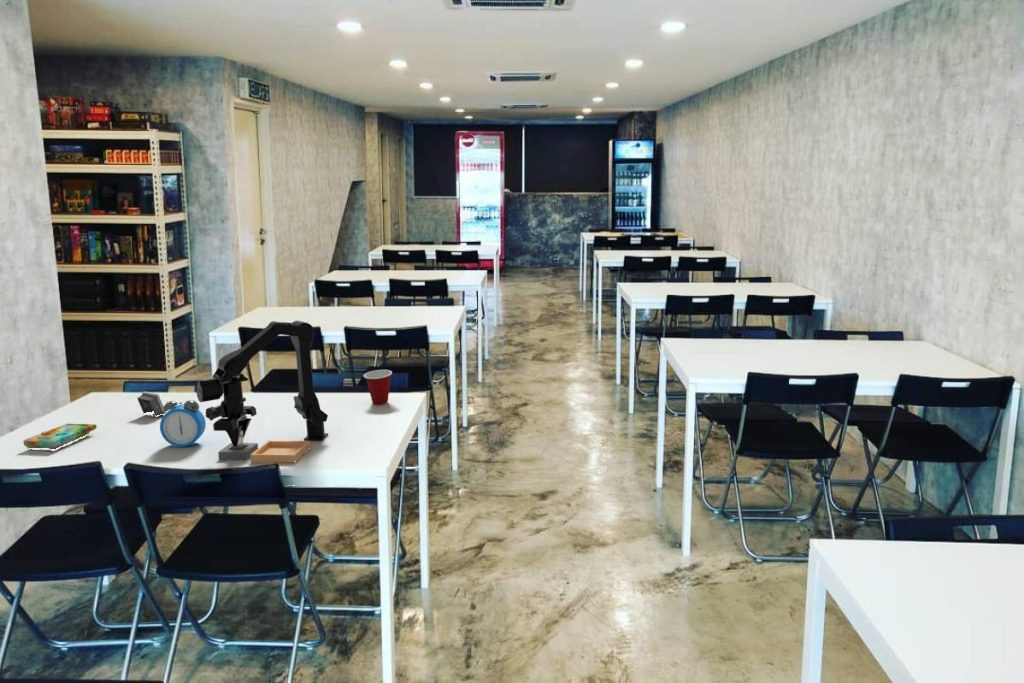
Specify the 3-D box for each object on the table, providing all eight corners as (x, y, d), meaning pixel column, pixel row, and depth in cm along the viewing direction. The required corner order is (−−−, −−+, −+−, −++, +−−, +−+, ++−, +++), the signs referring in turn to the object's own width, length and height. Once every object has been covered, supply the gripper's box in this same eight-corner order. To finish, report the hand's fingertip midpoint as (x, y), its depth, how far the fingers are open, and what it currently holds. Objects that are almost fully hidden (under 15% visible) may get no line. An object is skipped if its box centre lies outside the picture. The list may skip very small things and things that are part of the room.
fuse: (235, 453, 264) (233, 428, 262) (247, 453, 264) (244, 429, 262) (230, 457, 260) (228, 432, 259) (242, 457, 260) (239, 432, 258)
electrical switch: (167, 415, 310) (162, 392, 308) (155, 420, 306) (150, 397, 304) (152, 412, 315) (147, 389, 313) (139, 417, 311) (134, 394, 309)
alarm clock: (161, 448, 271) (156, 404, 268) (168, 442, 277) (163, 399, 274) (202, 446, 271) (197, 402, 269) (208, 441, 278) (203, 397, 275)
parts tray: (268, 448, 268) (268, 440, 268) (310, 448, 266) (310, 440, 266) (251, 462, 254) (250, 454, 254) (295, 462, 253) (294, 455, 252)
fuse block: (231, 450, 267) (230, 442, 266) (258, 450, 266) (257, 443, 265) (218, 459, 258) (218, 452, 258) (246, 459, 257) (245, 452, 257)
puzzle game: (22, 438, 272) (66, 421, 291) (24, 452, 273) (68, 433, 292) (53, 439, 269) (95, 422, 289) (55, 453, 270) (97, 435, 290)
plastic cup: (359, 404, 319) (357, 373, 317) (381, 398, 327) (379, 368, 324) (377, 408, 312) (375, 377, 309) (399, 402, 320) (397, 371, 317)
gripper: (221, 389, 268) (226, 435, 271) (194, 404, 250) (199, 453, 253) (254, 388, 267) (259, 435, 270) (229, 404, 249) (234, 454, 252)
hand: (237, 444), depth 261 cm, fingers closed on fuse, 3 cm apart
